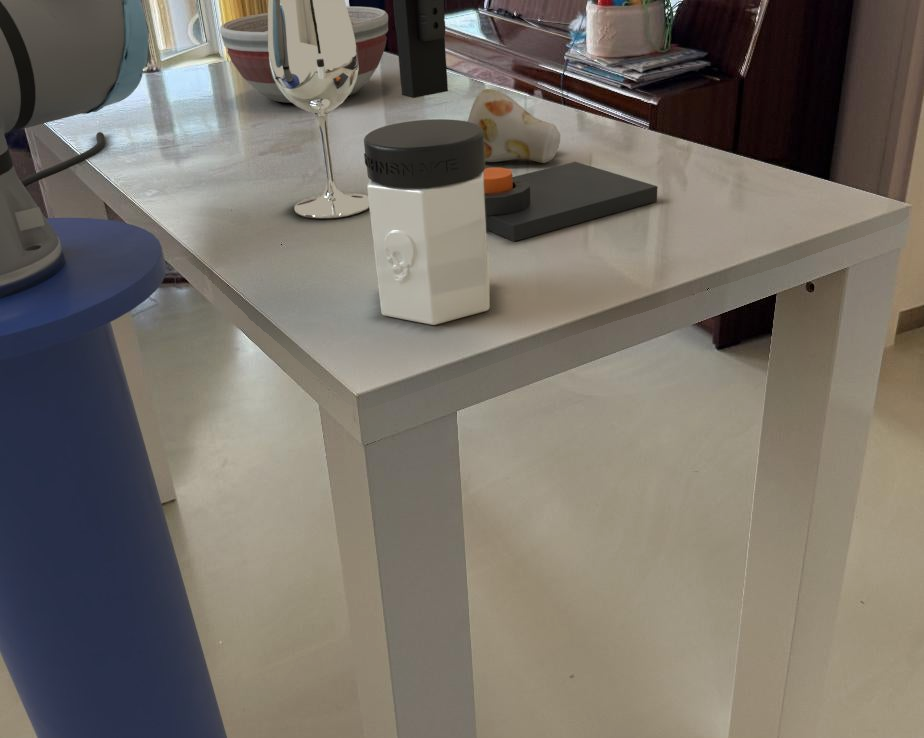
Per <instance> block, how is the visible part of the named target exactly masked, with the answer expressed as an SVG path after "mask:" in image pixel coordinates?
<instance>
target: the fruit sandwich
mask: <svg viewBox="0 0 924 738" xmlns="http://www.w3.org/2000/svg"><path fill="white" fill-rule="evenodd" d="M467 122H471V123H474V124H477V125H479V126H480V127H481V128H482V129H483V132H484V150H485V163H498V162H499V163H500V162H506V161H513V160H514V161H515V160H527V161H531V162H537V163H539V164H546V163H548V162H550V161H551V160H553V158H554V157H555V156H556V155H557V152H558V149H559V148H560V143H561V132H560V130H559V129H558V127H557V126H556V125H555V124H554V123H551V122H548V121H545V120H542V119H539V118H537V117H535V116H533V115H532V114H531V113H530V112H528V111H527V110H526V109H525V108H524V107H522V106H521V105H520V104H519V103H518V102H517V101H515V100H514V99H513V98H512V97H510V96H509V95H507V94H506V93H504V92H502V91H500V90H496V89H492V88H490V89H489V88H485V89H481V91H480V92H479V93H478V94H477V95H476V97H475V99H474V101H473V103H472V106H471V109H470V112H469V115H468V119H467Z"/></svg>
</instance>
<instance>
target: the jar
mask: <svg viewBox="0 0 924 738" xmlns="http://www.w3.org/2000/svg"><path fill="white" fill-rule="evenodd" d="M363 147H364V153H363V157H364V164H365V167H366V174H367V178H368V183H367V185H366V188H367V189H366V190H367V196H368V200H369V209H368V210H369V217H370V227H371V233H372V244H373V251H374V252H373V253H374V260H375V261H374V262H375V268H376V269H375V270H376V277H377V286H378V294H379V304H380V313H381V315H382V316H384V317H390V318H396V319H400V320H404V321H405V320H406V321H411V322H416V323H420V324H425V325H430V326H436V325H440V324H444V323H447V322H448V323H449V322H450V321H454V320H458V319H463V318H466V317H469V316H473V315H477V314H480V313H483V312H484V313H485V312H487V311H489V309H490V307H491V306H490V305H491V302H490V301H491V283H490V281H491V279H490V261H489V259H490V257H489V240H488V239H489V237H488V230H487V216H486V195H485V174H484V169H485V168H486V162H485V150H484V132H483V129H482V128H481V127H480V126H479V125H477V124H474V123H471V122H468V120H467V121H466V120H460V119H447V118H446V119H444V118H443V119H441V118H439V119H438V118H435V119H418V120H410V121H404V122H403V121H402V122H398V123H392V124H388V125H384V126H380V127H378V128H376V129H373V130H371V131H370V132H368V133H367V134H366V135H365V136H364V138H363Z"/></svg>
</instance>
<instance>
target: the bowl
mask: <svg viewBox="0 0 924 738" xmlns="http://www.w3.org/2000/svg"><path fill="white" fill-rule="evenodd" d="M346 6H347V5H346ZM347 10H348V14H349V17H350V21H351V24H352V28H353V32H354V37H355V42H356V47H357V53H358V67H359V70H358V76H357V81H356V83H355V85H354V87H353V89H352V92H351V93H350V94H349V95H348V96H349V97H350V96H352V95H354V94H356V93H357V92H359V91H360V90H361V89H362V88H363V87H364V85H366V84H367V83H368V82H369V81H370V80H371V79H372V77H373V75H374V73H375V72H376V70H377V68H378V67H379V65H380V62H381V60H382V57H383V55H384V52H385V49H386V45H387V40H388V37H387V33H388V32H389V14H388V13H387V12H386V10H384V9H380V8H378V7H371V6H355V5H354V6H351V5H350V6H347ZM219 32H220V35H221V39H222V42H223V46H224V47H225V48H226V50H227V55H228V57H229V59H230V61H231V63H232V64H233V66H234V67H235V69H236V70H237V71H238V74H240V76H241V77H242V78H243V80H245V81H246V82H247V83H248V84H249V86H251V87H252V88H253V89H254V90H255V91H256V92H258V93H260V94H261V95H263V96H264V97H266V98H268V99H269V100H271V101H273V102H278V103H287V104H288V103H289V104H293V103H292V102H291V101H289V100H288V99H287V98H286V97H285V96H284V95H283V93H282V92H281V91H280V90H279V88H278V87H277V85H276V83H275V81H274V78H273V76H272V71H271V67H270V60H269V50H268V12H261V13H257V14H252V15H251V14H250V15H247V16H242V17H238V18H235V19H232V20H229V21H227V22H224V23H223V24H221V25H220V28H219ZM348 96H347V97H348Z"/></svg>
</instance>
